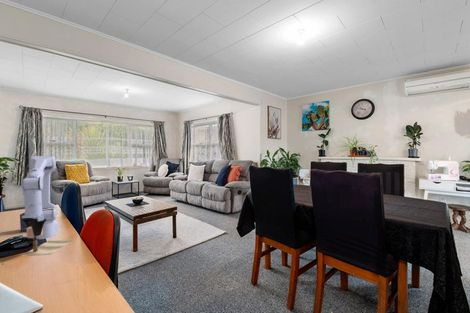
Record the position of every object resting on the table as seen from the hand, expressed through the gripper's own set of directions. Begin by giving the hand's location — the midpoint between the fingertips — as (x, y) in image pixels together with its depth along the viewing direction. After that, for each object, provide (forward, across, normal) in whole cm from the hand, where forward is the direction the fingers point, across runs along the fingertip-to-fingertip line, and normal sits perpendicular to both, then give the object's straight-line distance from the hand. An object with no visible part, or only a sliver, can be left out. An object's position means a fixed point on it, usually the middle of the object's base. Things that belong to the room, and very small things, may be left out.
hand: (34, 234), depth 99 cm
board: (+9, 0, +5) cm, 10 cm away
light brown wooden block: (+1, 0, 0) cm, 1 cm away
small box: (+9, -41, +13) cm, 44 cm away
